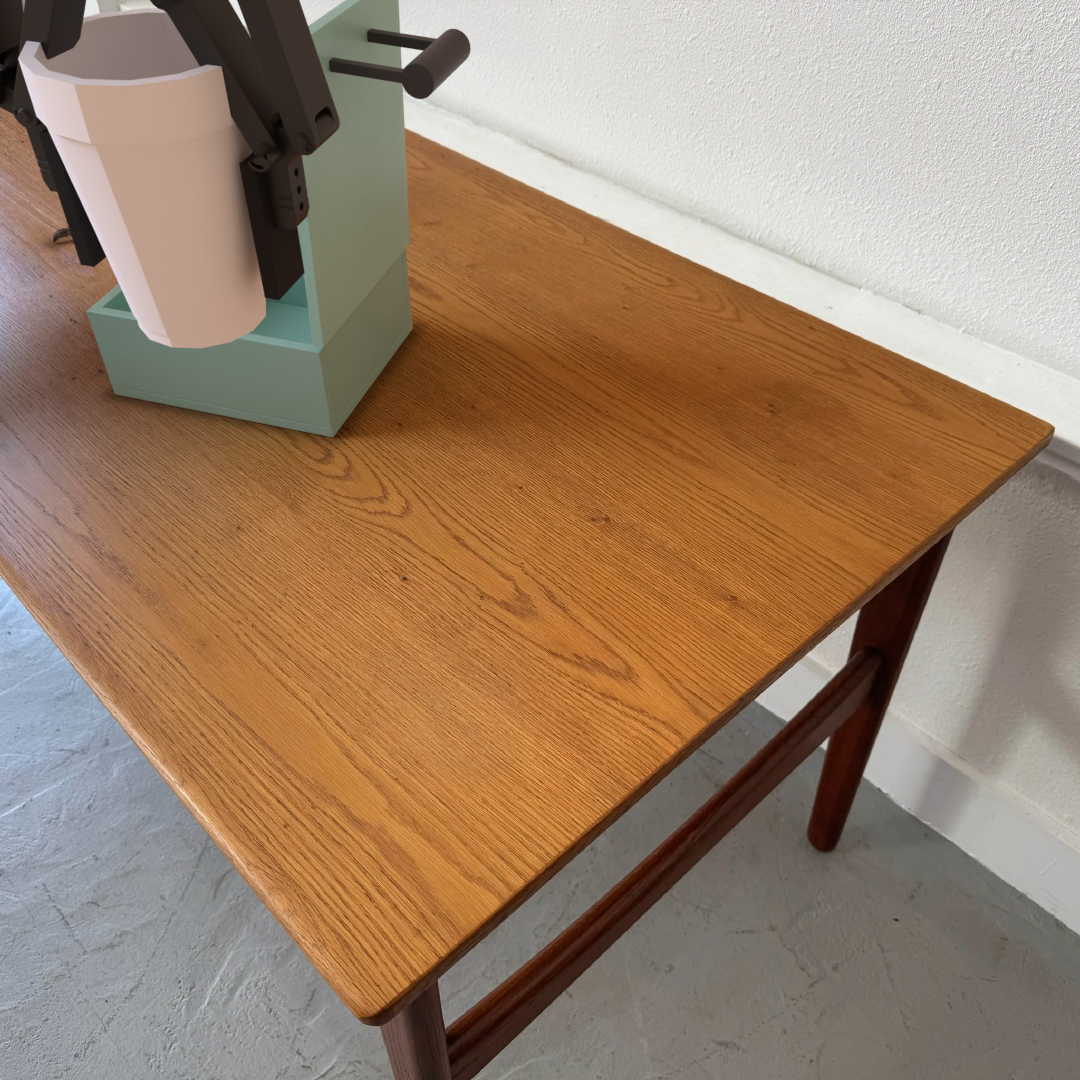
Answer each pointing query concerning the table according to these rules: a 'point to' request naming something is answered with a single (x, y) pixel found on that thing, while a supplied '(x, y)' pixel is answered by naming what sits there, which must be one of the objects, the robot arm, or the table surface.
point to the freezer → (263, 359)
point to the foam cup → (155, 173)
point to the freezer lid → (363, 154)
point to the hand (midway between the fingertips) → (192, 268)
